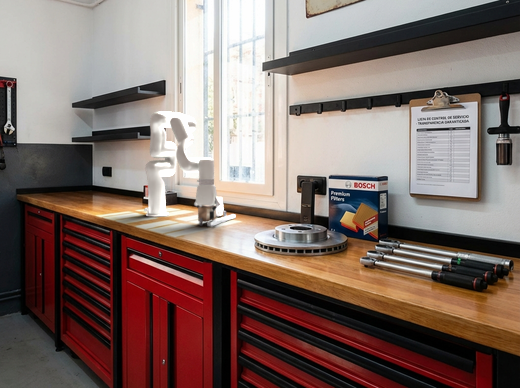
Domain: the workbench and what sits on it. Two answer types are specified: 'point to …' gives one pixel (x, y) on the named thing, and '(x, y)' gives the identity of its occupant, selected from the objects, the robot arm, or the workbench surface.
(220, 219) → the cleat rail
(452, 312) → the workbench surface
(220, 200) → the mug
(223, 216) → the screw pegs
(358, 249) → the workbench surface
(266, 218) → the workbench surface
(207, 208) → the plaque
